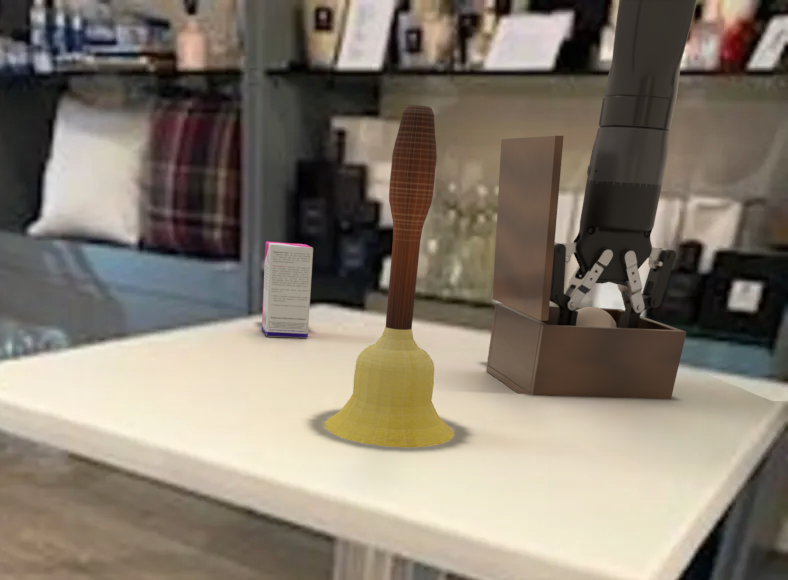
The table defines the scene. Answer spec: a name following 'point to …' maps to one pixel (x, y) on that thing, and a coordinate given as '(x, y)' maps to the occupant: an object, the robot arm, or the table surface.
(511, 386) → the brown open box
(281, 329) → the supplement box
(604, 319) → the light bulb
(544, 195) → the lid
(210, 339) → the table surface
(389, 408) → the handbell
